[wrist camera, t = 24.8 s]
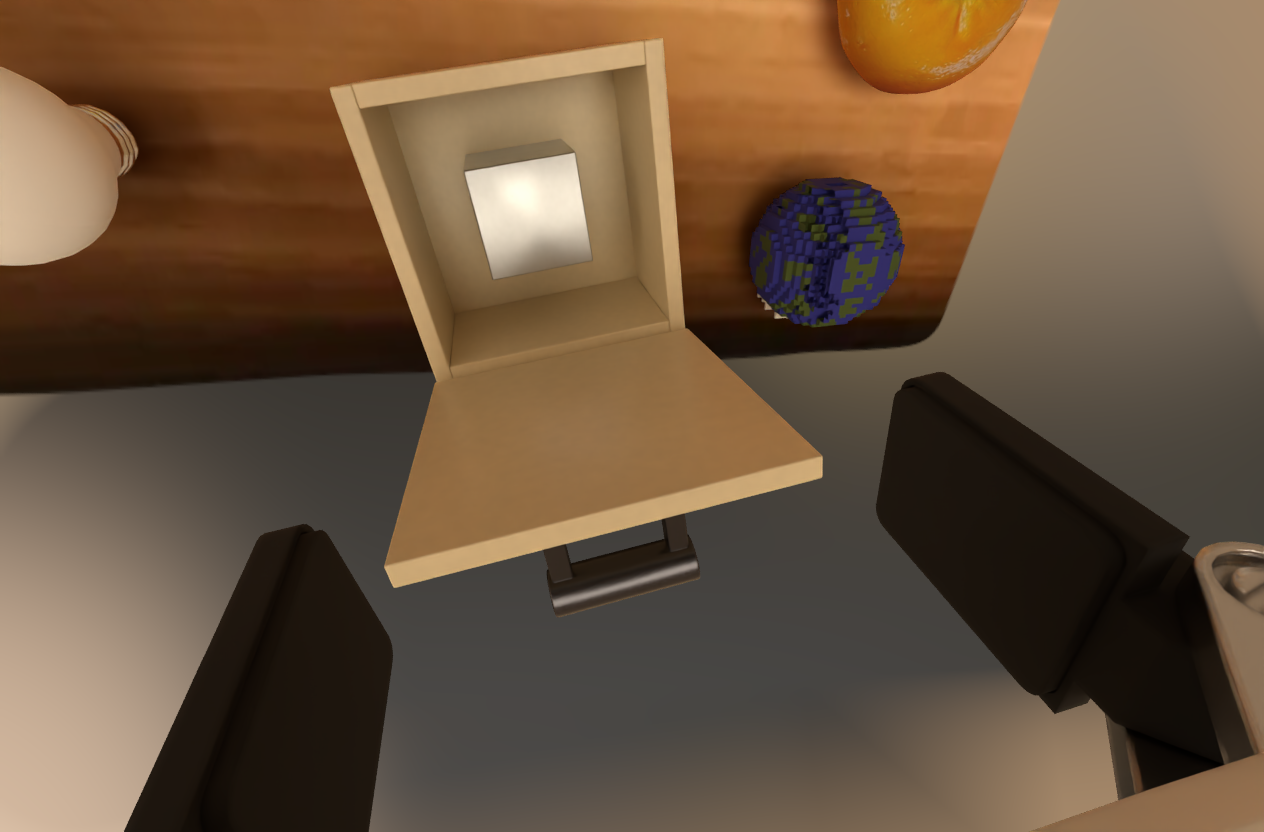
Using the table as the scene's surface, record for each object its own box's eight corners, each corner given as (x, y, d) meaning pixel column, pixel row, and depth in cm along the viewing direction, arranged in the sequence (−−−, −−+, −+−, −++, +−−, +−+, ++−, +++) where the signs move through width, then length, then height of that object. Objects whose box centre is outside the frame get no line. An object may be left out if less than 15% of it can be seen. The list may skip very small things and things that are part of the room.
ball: (835, 293, 39) (904, 339, 32) (730, 304, 37) (781, 354, 31) (859, 169, 34) (943, 193, 28) (742, 175, 33) (804, 203, 27)
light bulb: (216, 121, 26) (78, 155, 17) (168, 241, 28) (23, 327, 19) (33, 14, 23) (-254, -15, 14) (-5, 157, 25) (-276, 213, 16)
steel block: (465, 154, 29) (462, 170, 24) (561, 138, 29) (575, 151, 25) (490, 251, 31) (492, 280, 27) (578, 234, 32) (593, 261, 28)
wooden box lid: (382, 567, 15) (440, 691, 17) (823, 455, 16) (822, 583, 19) (434, 382, 27) (464, 470, 29) (687, 327, 28) (697, 415, 30)
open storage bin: (364, 80, 27) (327, 87, 20) (621, 41, 28) (663, 37, 22) (445, 322, 34) (437, 385, 27) (647, 281, 35) (685, 331, 29)
